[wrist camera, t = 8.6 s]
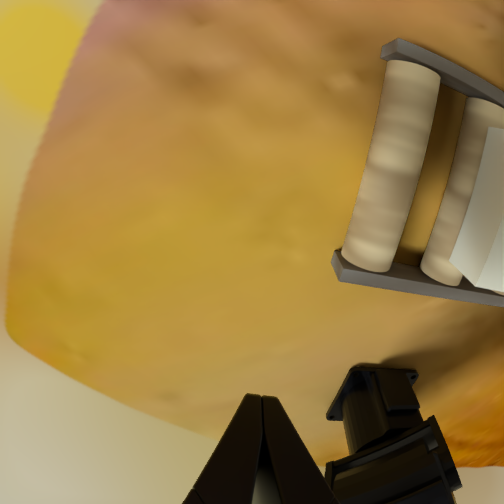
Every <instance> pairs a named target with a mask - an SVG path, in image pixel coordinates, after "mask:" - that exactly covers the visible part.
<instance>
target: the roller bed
mask: <svg viewBox="0 0 504 504" xmlns="http://www.w3.org/2000/svg"><path fill="white" fill-rule="evenodd" d="M380 58H381V59H384V60H387V61H388V62H387V66H386V72H385V77H384V82H383V88H382V93H381V98H380V103H379V108H378V113H377V117H376V122H375V126H374V131H373V135H372V140H371V144H370V148H369V152H368V157H367V161H366V165H365V169H364V173H363V177H362V180H361V184H360V188H359V192H358V196H357V199H356V203H355V206H354V210H353V214H352V217H351V221H350V224H349V228H348V231H347V234H346V238H345V241H344V244H343V248H342V251H341V252H340V251H334V254H333V257H332V260H331V264H332V266H333V268H334V271H335V273H336V275H337V278H338V280H339V281H340V282H346V283H352V284H358V285H364V286H370V287H376V288H382V289H389V290H395V291H401V292H407V293H414V294H420V295H426V296H433V297H439V298H445V299H452V300H459V301H465V302H472V303H478V304H485V305H492V306H499V307H504V292H501V291H495V290H490V289H485V288H480V287H475V286H474V285H473V284H472V283H471V282H470V281H469V280H468V279H467V278H466V277H464V276H463V274H462V273H461V272H460V271H459V270H458V269H457V268H456V267H455V266H454V265H453V264H452V263H451V262H450V261H449V259H450V257H451V254H452V252H453V249H454V246H455V244H456V241H457V238H458V235H459V233H460V230H461V227H462V224H463V221H464V218H465V215H466V212H467V209H468V206H469V202H470V199H471V196H472V193H473V189H474V186H475V182H476V178H477V175H478V171H479V167H480V163H481V159H482V155H483V150H484V146H485V141H486V137H487V132H488V127H495V128H500V129H504V92H503V91H501V90H500V89H498V88H497V87H495V86H493V85H492V84H490V83H488V82H487V81H485V80H484V79H482V78H480V77H478V76H477V75H475V74H473V73H471V72H470V71H468V70H466V69H464V68H462V67H460V66H459V65H457V64H455V63H453V62H451V61H449V60H447V59H445V58H443V57H441V56H439V55H437V54H435V53H432V52H430V51H428V50H426V49H424V48H421V47H419V46H417V45H415V44H412V43H410V42H407V41H405V40H403V39H400V38H398V39H396V40H394V41H392V42H390V43H388V44H386V45H384V46H382V51H381V57H380ZM440 83H442V84H444V85H446V86H448V87H450V88H452V89H454V90H456V91H458V92H460V93H462V94H464V95H466V96H468V98H466V103H465V109H464V114H463V119H462V124H461V129H460V134H459V139H458V143H457V147H456V152H455V156H454V160H453V164H452V168H451V171H450V175H449V179H448V182H447V186H446V189H445V193H444V196H443V199H442V203H441V206H440V209H439V212H438V215H437V218H436V221H435V224H434V227H433V230H432V233H431V236H430V239H429V242H428V244H427V247H426V250H425V253H424V255H423V258H422V261H421V263H420V267H416V266H411V265H406V264H401V263H396V262H392V261H393V258H394V256H395V253H396V250H397V247H398V244H399V241H400V239H401V236H402V233H403V230H404V227H405V223H406V220H407V217H408V214H409V211H410V208H411V204H412V201H413V198H414V194H415V191H416V187H417V184H418V180H419V177H420V173H421V169H422V165H423V161H424V157H425V153H426V149H427V145H428V141H429V136H430V132H431V127H432V123H433V118H434V113H435V108H436V103H437V97H438V91H439V85H440Z"/></svg>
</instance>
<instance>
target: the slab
mask: <svg viewBox="0 0 504 504" xmlns="http://www.w3.org/2000/svg"><path fill="white" fill-rule="evenodd" d="M449 261H450V262H451V263H452V264H453V265H454V266H455V267H456V268H457V269H458V270H459V271H460V272H461V273H462V274H463V275H464V276H465V277H466V278H467V279H468V280H469V281H470V282H471V283H472V284H473V285H474V286H475V287H480V288H485V289H490V290H495V291H501V292H504V129H500V128H495V127H488V132H487V137H486V141H485V146H484V150H483V155H482V159H481V163H480V167H479V171H478V175H477V178H476V182H475V186H474V189H473V193H472V196H471V199H470V202H469V206H468V209H467V212H466V215H465V218H464V221H463V224H462V227H461V230H460V233H459V235H458V238H457V241H456V244H455V246H454V249H453V252H452V254H451V257H450V259H449Z"/></svg>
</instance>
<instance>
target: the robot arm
mask: <svg viewBox="0 0 504 504" xmlns="http://www.w3.org/2000/svg"><path fill="white" fill-rule="evenodd" d="M354 373H355V374H354ZM418 376H419V374H418V372H417V371H416V370H407V369H383V368H366V367H353V368H351V369H350V370H349V372H348V374H347V376H346V378H345V380H344V382H343V384H342V386H341V387H340V389H339V391H338V393H337V395H336V397H335V399H334V400H333V402H332V404H331V406H330V408H329V409H328V411H327V413H326V418H327V420H330V421H343V424H344V429H345V434H346V439H347V444H348V449H349V454H350V456H347V457H344V458H342V459H339V460H336V461H330V462H328V463H326V471H325V477H323V475H322V473H321V472H320V470H319V468H318V467H317V465H316V463H315V462H314V460H313V458H312V457H311V455H310V453H309V452H308V450H307V448H306V446H305V445H304V443H303V441H302V440H301V438H300V436H299V434H298V433H297V431H296V429H295V427H294V426H293V424H292V422H291V420H290V419H289V417H288V415H287V413H286V412H285V410H284V408H283V406H282V405H281V403H280V401H279V399H278V398H277V397H274V396H266V395H264V396H262V397H261V396H260V395H258V394H250V393H247V394H246V395H245V396H244V398H243V400H242V402H241V403H240V405H239V407H238V409H237V411H236V413H235V414H234V416H233V418H232V420H231V422H230V423H229V425H228V427H227V429H226V431H225V432H224V434H223V436H222V438H221V440H220V441H219V443H218V445H217V447H216V448H215V450H214V452H213V453H212V455H211V457H210V459H209V460H208V462H207V464H206V465H205V467H204V469H203V471H202V472H201V474H200V476H199V477H198V479H197V481H196V483H195V484H194V486H193V489H191V490H190V492H189V493H188V495H187V497H186V499H185V500H184V501H183V503H182V504H457V503H456V500H455V497H454V494H453V491H456V490H457V489H459V488H461V487H462V484H461V481H460V478H459V475H458V472H457V470H456V467H455V464H454V462H453V459H452V456H451V454H450V451H449V449H448V446H447V444H446V442H445V439H444V437H443V434H442V432H441V430H440V427H439V425H438V423H437V421H436V418H435V416H434V415H432V416H431V417H429V418H428V419H427V420H426V421H423V419H422V416H421V414H420V411H419V408H420V404H419V402H418V400H417V397H416V395H415V393H414V391H413V388H412V386H413V384H414V383H415V381H416V379H417V378H418Z"/></svg>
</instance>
